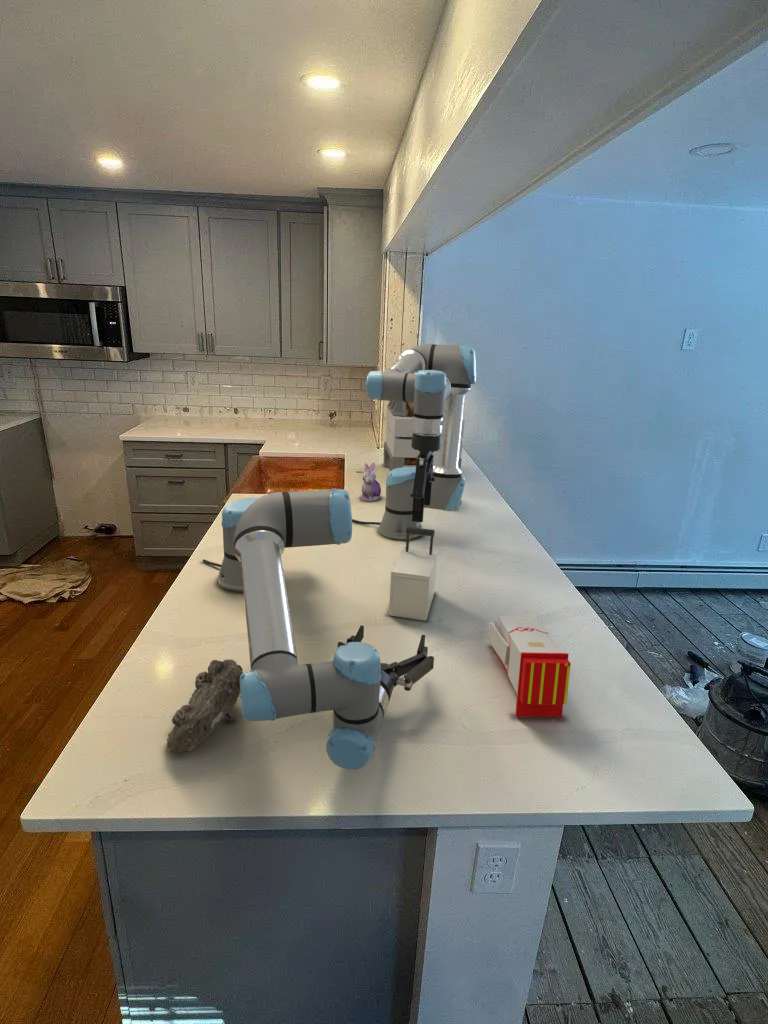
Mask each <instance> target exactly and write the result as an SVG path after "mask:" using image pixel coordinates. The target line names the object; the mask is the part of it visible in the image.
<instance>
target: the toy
mask: <svg viewBox="0 0 768 1024" xmlns="http://www.w3.org/2000/svg"><path fill="white" fill-rule="evenodd" d="M488 625H489V627H488V633H487V641H488V642H489V644H490V646H491V647H490V648H491V649H492V650H493V652H494V654H495V656H496V658H497V659H498V660H499V662H500V664H501V666H502V668H503V669H504V671H505V673H506V674H507V676H508V678H509V680H510V682H511V685H512V686H513V689H514V690H515V693H516V704H515V717H516V718H517V717H518V718H519V717H520V718H521V717H522V718H563V710H564V705H567V701H568V692H569V685H570V684H569V683H570V676H571V675H570V674H571V666H572V664H571V661H570V660H569V655H570V654H569V653H568V652H563V651H562V649H561V648H560V647H559V646H558V644H557V643H556V642H555V640H554V639H553V638H552V636H551V635H550V634H549V632H548V631H547V629H546V628H545V627H544V626H543V624H542V622H541V621H540V620H539V619H538V618H537V616H498V618H496V619H494V623H493V622H489V624H488Z"/></svg>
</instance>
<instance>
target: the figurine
mask: <svg viewBox="0 0 768 1024" xmlns="http://www.w3.org/2000/svg"><path fill="white" fill-rule="evenodd" d="M363 468H364V470H363V471H364V472H363V474H362V481H363V483H362V485H361V496H360V498H361V500H362V501H364V502H373V501H377V500H380V499H381V495H382V487H381V484H380V482H379V481H378V480H376V479H377V476H376V473H375V468H376V462H372V463H371V465H370V466H369V464H367V462H365V463H364V464H363Z"/></svg>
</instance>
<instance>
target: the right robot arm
mask: <svg viewBox="0 0 768 1024" xmlns="http://www.w3.org/2000/svg"><path fill="white" fill-rule="evenodd" d="M476 360H477V359H476V351H475V349H474V348H473V347H471V346H466V345H461V344H459V345H455V344H436V343H435V344H434V343H425V344H424V343H423V344H419V345H415V346H412V347H410V348H407V349H406V350H404V351H402V352H401V353H400V354H399V355H398V356H397V358H396V361H395V362H393V364H391V365H390V366H389V367H388V368H386V369H385V370H383V371H381V370H371V371H369V372H368V374H367V376H366V380H365V394H366V396H367V398H369V399H370V400H376V401H378V402H379V401H385V402H386V401H387V402H389V401H400V402H411V403H414V413H413V422H412V431H413V432H414V433H413V434H412V442H411V447H412V448H413V449H415V450H418V451H420V454H418V456H417V459H416V466H404V467H401V468H396V469H393V470H391V471H390V470H389V472H388V473H387V475H386V482H385V504H384V505H385V507H384V508H385V509H384V513H383V515H382V519H381V522H378V521H377V522H376V521H361V520H357V519H354V518H352V523H355V524H360V525H372V526H373V525H374V526H375V525H376V526H379V527H378V533H379V534H380V535H381V536H382V537H385V538H387V539H389V540H395V541H406V537H407V534H406V528H407V527H414V528H422V529H423V525H422V523H423V522H424V513H425V511H424V510H425V509H430V510H431V509H433V510H442V511H444V512H445V511H451V512H452V511H453V512H454V511H457V510H458V509H459V508H460V506H461V505H460V502H461V503H462V498H463V493H464V489H465V484H466V478H465V477H464V476H462V475H463V472H462V469H461V470H460V469H459V468H458V461H459V451H460V441H461V440H462V438H461V431H462V421H463V419H464V408H465V400H466V395H467V393H468V392H470V391H471V386H472V385H475V384H476V382H477V362H476ZM433 452H434V454H433ZM459 505H460V506H459ZM421 536H422V535H414V534H410V535H409V541H410V540H415V539H418V538H420V537H421Z"/></svg>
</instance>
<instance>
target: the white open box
mask: <svg viewBox="0 0 768 1024" xmlns="http://www.w3.org/2000/svg"><path fill="white" fill-rule="evenodd" d="M437 564H438V558H437V559H436V562H435V565H434V568H433V571H432V574H431V577H430V580H429V581H424V580H416V579H409V578H401V577H394V576H391V575H390V584H389V586H390V587H389V604H388V616H391V617H399V618H406V619H411V620H418V621H423V622H424V621H427V619H428V616H429V612H430V609H431V605H432V602H433V598H434V595H435V587H436V574H437Z"/></svg>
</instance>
